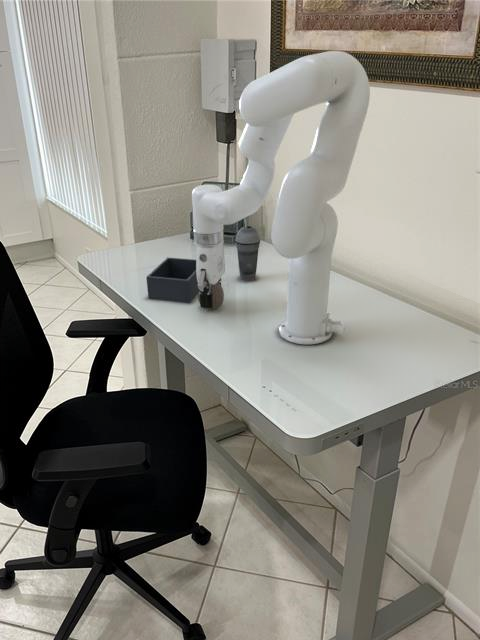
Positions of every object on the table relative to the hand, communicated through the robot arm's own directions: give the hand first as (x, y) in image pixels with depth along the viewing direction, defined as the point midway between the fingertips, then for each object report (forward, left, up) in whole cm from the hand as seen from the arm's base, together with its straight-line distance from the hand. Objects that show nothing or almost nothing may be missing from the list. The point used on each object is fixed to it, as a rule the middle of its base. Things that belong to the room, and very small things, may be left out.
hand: (211, 301), depth 157 cm
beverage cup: (-4, -22, -2) cm, 22 cm away
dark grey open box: (+13, -9, -2) cm, 16 cm away
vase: (0, 0, -2) cm, 2 cm away
